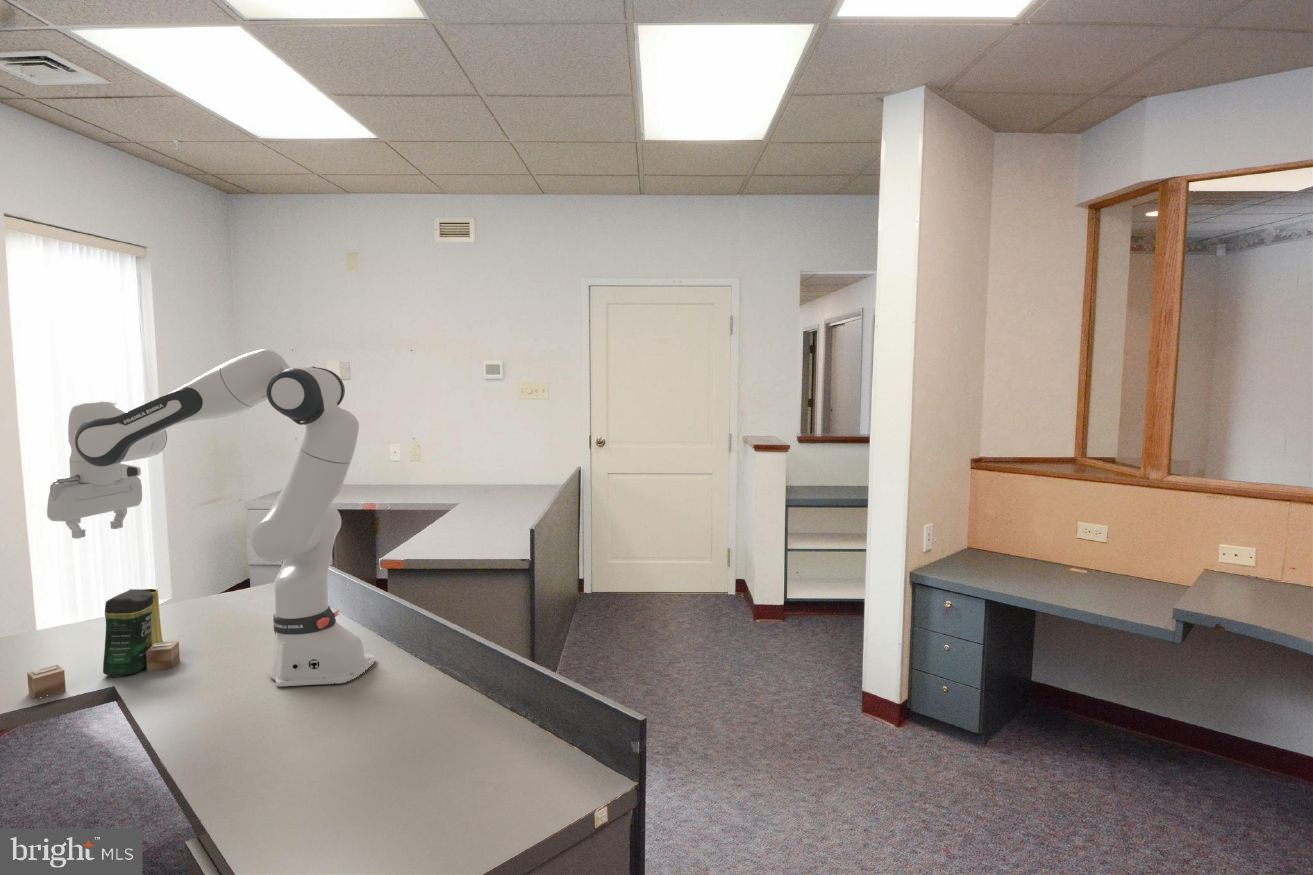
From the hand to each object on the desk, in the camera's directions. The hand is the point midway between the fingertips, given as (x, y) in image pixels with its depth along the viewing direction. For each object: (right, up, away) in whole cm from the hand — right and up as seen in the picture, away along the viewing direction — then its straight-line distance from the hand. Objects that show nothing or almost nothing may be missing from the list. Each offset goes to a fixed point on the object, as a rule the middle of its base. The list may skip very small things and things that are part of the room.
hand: (98, 533), depth 149 cm
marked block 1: (-7, -35, -5) cm, 36 cm away
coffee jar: (+2, -34, +7) cm, 34 cm away
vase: (-5, -33, +21) cm, 39 cm away
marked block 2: (+8, -33, +9) cm, 36 cm away
